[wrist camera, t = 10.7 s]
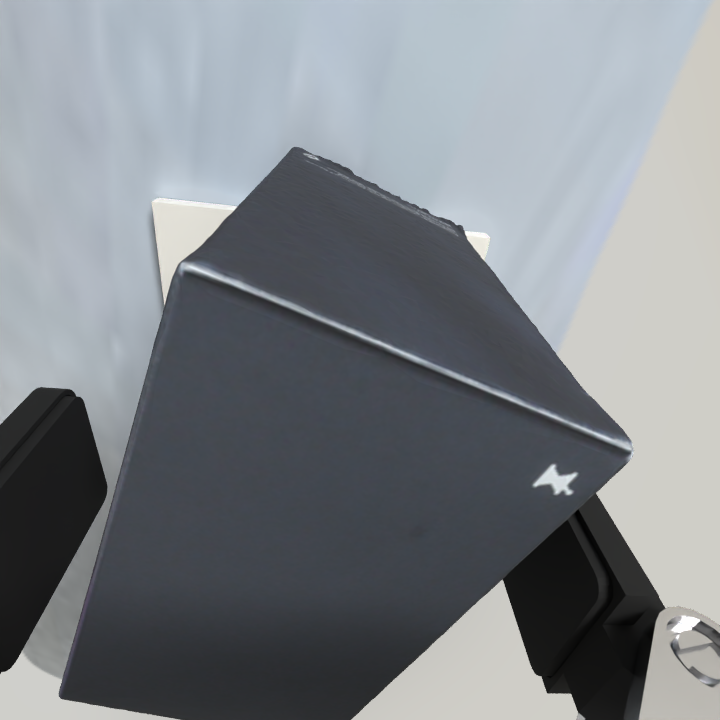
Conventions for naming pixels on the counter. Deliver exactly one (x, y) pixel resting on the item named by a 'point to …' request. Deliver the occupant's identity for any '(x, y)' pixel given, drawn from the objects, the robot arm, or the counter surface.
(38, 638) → the counter surface
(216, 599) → the small box
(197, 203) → the outlet plate
